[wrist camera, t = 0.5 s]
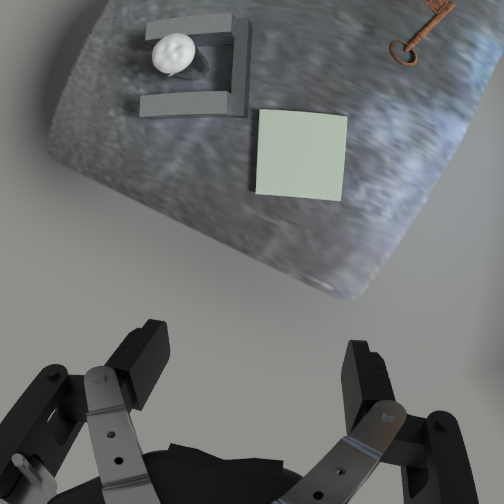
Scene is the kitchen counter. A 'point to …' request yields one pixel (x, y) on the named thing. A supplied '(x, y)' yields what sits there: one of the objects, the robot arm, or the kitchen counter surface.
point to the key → (425, 28)
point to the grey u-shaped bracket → (202, 34)
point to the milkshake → (179, 57)
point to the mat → (301, 154)
